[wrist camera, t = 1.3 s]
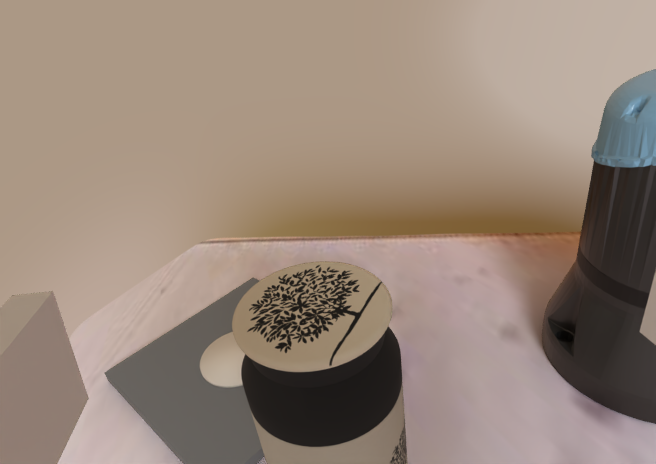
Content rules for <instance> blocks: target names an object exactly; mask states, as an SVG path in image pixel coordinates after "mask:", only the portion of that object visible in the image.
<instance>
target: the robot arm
mask: <svg viewBox="0 0 656 464" xmlns="http://www.w3.org/2000/svg"><path fill="white" fill-rule="evenodd" d="M591 156H592V158H593V159H594V165H593V170H592V176H591V182H590V187H589V193H588V199H587V203H586V209H585V214H584V220H583V225H582V230H581V236H580V242H579V248H578V254H577V258H576V261H575V263H574V264H573V266H572V267H571V269H570V270H569V272H568V273H567V275H566V276H565V278H564V280H563V281H562V283H561V284H560V286H559V287H558V289H557V290H556V292H555V293H554V295H553V296H552V298H551V299H550V301H549V303H548V305H547V308H546V311H545V315H544V322H543V329H542V341H543V346H544V349H545V352H546V354H547V356H548V358H549V360H550V361H551V363H552V364H553V366H554V367H555V368H556V370H557V371H558V372H559V373H560V374H561V375H562V376H563V377H564V378H565V379H566V380H567V381H568V382H569V383H570V384H571V385H573V386H574V387H575V388H576V389H578V390H579V391H580V392H582V393H583V394H585V395H586V396H588V397H589V398H591V399H593V400H594V401H596V402H598V403H600V404H602V405H604V406H606V407H608V408H610V409H612V410H614V411H617V412H619V413H622V414H624V415H627V416H630V417H633V418H636V419H639V420H643V421H647V422H651V423H655V424H656V69H654V70H651V71H648V72H645V73H643V74H640V75H638V76H636V77H634V78H632V79H630V80H628V81H627V82H625V83H623V84H622V85H621V86H620V87H619V88H617V89H616V90H615V91H614V92H613V93H612V95H611V96H610V98H609V100H608V101H607V103H606V106H605V108H604V113H603V117H602V121H601V125H600V129H599V134H598V138H597V140H596V142H595V144H594V145H593V147H592V155H591ZM87 400H88V395H87V392H86V389H85V386H84V383H83V380H82V377H81V374H80V371H79V368H78V365H77V362H76V359H75V356H74V353H73V350H72V347H71V344H70V341H69V338H68V335H67V332H66V329H65V326H64V323H63V320H62V317H61V314H60V311H59V308H58V305H57V302H56V299H55V296H54V293H53V291H51V292H42V293H31V294H21V295H13V296H11V297H10V298H9V299H8V300H7V301H6V303H5V304H4V305H3V306H2V307H1V308H0V464H57V463H58V461H59V459H60V457H61V455H62V453H63V451H64V448H65V446H66V444H67V442H68V440H69V438H70V436H71V434H72V432H73V430H74V428H75V425H76V423H77V421H78V419H79V417H80V415H81V413H82V411H83V409H84V407H85V404H86V402H87Z"/></svg>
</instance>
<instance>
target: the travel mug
mask: <svg viewBox="0 0 656 464" xmlns="http://www.w3.org/2000/svg"><path fill="white" fill-rule="evenodd" d="M391 316H392V300H391V296H390V294H389V292H388V290H387V288H386V286H385V285H384V284H383V283H382V282H381V280H379V279H378V278H377V277H376V276H375V275H373V274H372V273H370V272H368V271H366V270H364V269H362V268H360V267H357V266H354V265H350V264H346V263H340V262H311V263H304V264H299V265H295V266H291V267H288V268H285V269H282V270H280V271H277V272H275V273H273V274H271V275H269V276H267V277H266V278H264V279H262V280H261V281H259V282H258V283H257V284H255V285H254V286H253V287H252V288H251V289H250V290H248V291H247V293H246V294H245V295H244V296H243V297H242V299H241V300H240V302H239V303H238V305H237V307H236V309H235V312H234V315H233V320H232V330H233V335H234V338H235V341H236V343H237V344H238V346H239V347H240V349H241V350H242V351H243V352H244V353H245V356H244V359H243V362H242V368H241V377H242V383H243V387H244V390H245V394H246V397H247V400H248V403H249V407H250V410H251V413H252V417H253V420H254V423H255V426H256V430H257V433H258V436H259V440H260V443H261V446H262V449H263V453H264V456H265V459H266V462H267V464H407V451H406V435H405V419H404V402H403V386H402V370H401V354H400V347H399V344H398V341H397V339H396V337H395V335H394V333H393V332H392V330H391V329H390V328H389V327H388V325H389V323H390V320H391Z"/></svg>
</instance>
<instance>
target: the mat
mask: <svg viewBox="0 0 656 464" xmlns="http://www.w3.org/2000/svg"><path fill="white" fill-rule="evenodd" d="M258 282H259V280H257V279H255V278H252V279H250V280H249V281H247V282H246V283H244V284H242V285H241V286H239V287H238V288H236V289H235V290H233V291H232V292H230V293H228V294H227V295H225V296H224V297H222V298H221V299H219V300H217V301H216V302H214V303H213V304H211V305H210V306H208V307H207V308H205V309H203V310H202V311H200V312H199V313H197V314H196V315H194V316H192V317H191V318H189V319H188V320H186V321H185V322H183V323H182V324H180V325H178V326H177V327H175V328H174V329H172V330H171V331H169V332H167V333H166V334H164V335H163V336H161V337H160V338H158V339H157V340H155V341H153V342H152V343H150V344H149V345H147V346H146V347H144V348H142V349H141V350H139V351H138V352H136V353H135V354H133V355H132V356H130V357H128V358H127V359H125V360H124V361H122V362H121V363H119V364H117V365H116V366H114V367H113V368H111V369H110V370H108V371H107V372H105V375H106V377H107V379H108V381H109V382H110V383H111V384H112V385H113V386H114V387H115V388H116V389H117V391H118V392H119V393H120V394H121V395H122V396H123V397H124V398H125V399H126V400H127V402H128V403H129V404H130V405H131V406H132V407H133V408H134V409H135V410H136V412H137V413H138V414H139V415H140V416H141V417H142V418H143V419H144V420H145V421H146V423H147V424H148V425H149V426H150V427H151V428H152V429H153V430H154V431H155V433H156V434H157V435H158V436H159V437H160V438H161V439H162V440H163V441H164V442H165V444H166V445H167V446H168V447H169V448H170V449H171V450H172V451H173V452H174V454H175V455H176V456H177V457H178V458H179V459H180V460H181V461H182V462H183V463H184V464H256V463H258V462H259V461H260V460H261V459H262V458H263V457H264V453H263V449H262V446H261V443H260V440H259V436H258V433H257V430H256V426H255V423H254V420H253V417H252V413H251V410H250V407H249V403H248V400H247V397H246V394H245V390H244V387H243V383H242V377H241V368H242V362H243V359H244V356H245V353H244V352H243V351H242V350H241V349H240V347H239V346H238V344H237V343H236V341H235V338H234V335H233V330H232V320H233V315H234V312H235V309H236V307H237V305H238V303H239V302H240V300H241V299H242V297H243V296H244V295H245V294H246V293H247V291H248V290H250V289H251V288H252V287H253V286H254V285H255V284H257V283H258Z"/></svg>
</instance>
